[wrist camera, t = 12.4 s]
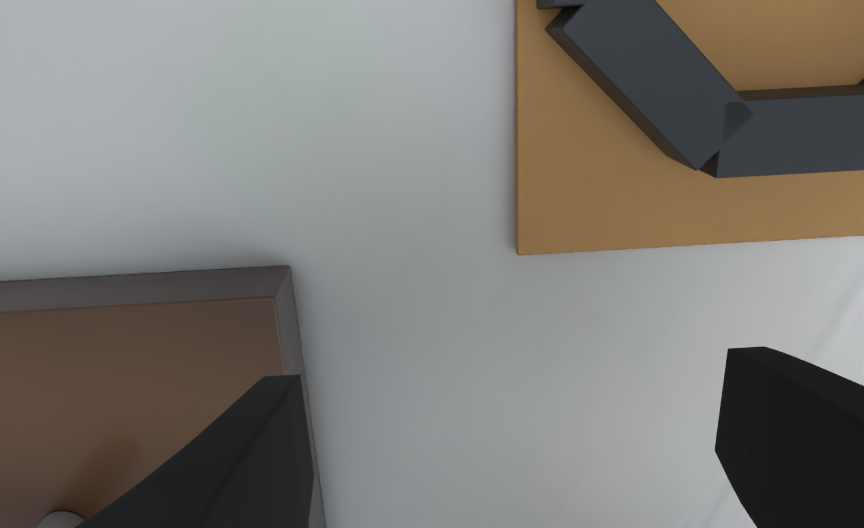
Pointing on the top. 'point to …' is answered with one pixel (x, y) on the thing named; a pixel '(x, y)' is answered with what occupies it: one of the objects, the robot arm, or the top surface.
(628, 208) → the mat
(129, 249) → the top surface
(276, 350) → the stand
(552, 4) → the headband ring
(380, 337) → the top surface
